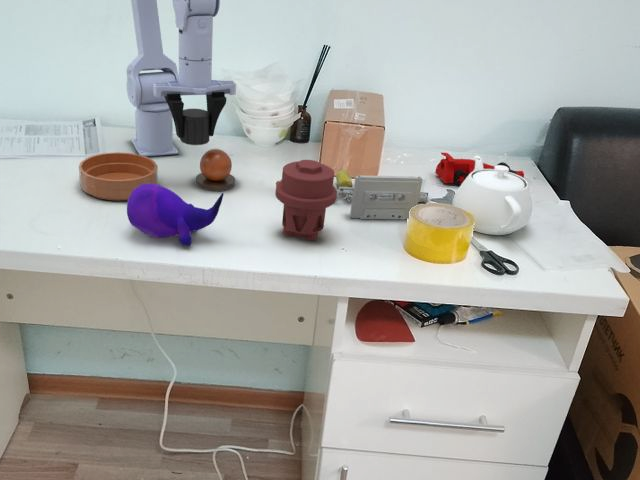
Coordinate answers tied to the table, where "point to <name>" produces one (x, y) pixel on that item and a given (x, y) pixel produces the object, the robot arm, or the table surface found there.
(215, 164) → the sphere on round base
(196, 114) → the cap
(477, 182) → the teapot
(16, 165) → the table surface
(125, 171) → the round terracotta dish
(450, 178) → the toy car
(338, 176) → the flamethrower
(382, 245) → the table surface
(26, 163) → the table surface
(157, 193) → the toy
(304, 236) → the mechanical component
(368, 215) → the cassette
